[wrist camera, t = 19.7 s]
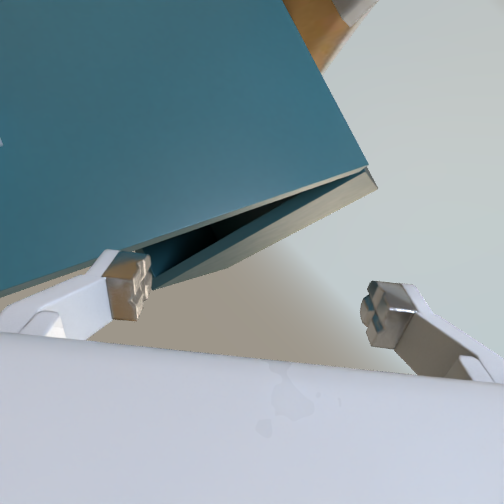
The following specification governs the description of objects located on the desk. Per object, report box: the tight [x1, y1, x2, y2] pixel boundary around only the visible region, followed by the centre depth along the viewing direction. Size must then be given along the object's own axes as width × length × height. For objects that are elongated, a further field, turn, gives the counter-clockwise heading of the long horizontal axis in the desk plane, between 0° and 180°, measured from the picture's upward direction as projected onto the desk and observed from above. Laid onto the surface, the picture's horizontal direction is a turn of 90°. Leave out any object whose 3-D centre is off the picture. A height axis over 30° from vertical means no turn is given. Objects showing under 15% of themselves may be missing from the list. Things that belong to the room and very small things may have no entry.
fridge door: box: [0, 0, 368, 298], centre depth 18 cm, size 7×26×26 cm, turn 67°
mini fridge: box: [135, 166, 378, 290], centre depth 41 cm, size 18×26×26 cm
